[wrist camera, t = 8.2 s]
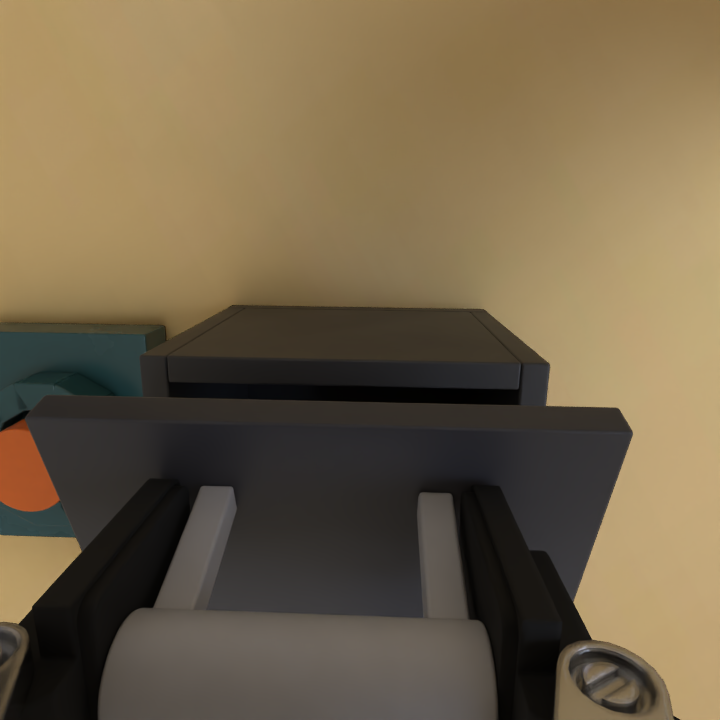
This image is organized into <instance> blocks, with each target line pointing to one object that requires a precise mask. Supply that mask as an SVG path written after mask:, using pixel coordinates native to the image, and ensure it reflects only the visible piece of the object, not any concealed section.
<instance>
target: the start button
mask: <svg viewBox="0 0 720 720" xmlns="http://www.w3.org/2000/svg"><path fill="white" fill-rule="evenodd" d="M0 501H1V502H2V503H4V504H6V505H7V506H9V507H12V508H14V509H17V510H21V511H28V512H36V511H42V510H45V509H48V508H50V507H52V506H54V505H55V504H57V503H58V502H59V501H60V500H59V497H58V495H57V493H56V490H55V488H54V486H53V483H52V481H51V479H50V477H49V474H48V472H47V470H46V467H45V465H44V463H43V461H42V458H41V456H40V454H39V451H38V449H37V447H36V444H35V442H34V440H33V438H32V435H31V433H30V431H29V428H28V426H27V424H26V422H25V419H23V420H21V421H19V422H17V423H15V424H14V425H12V426H10V427H8V428H6V429H4V430H3V431H1V432H0Z"/></svg>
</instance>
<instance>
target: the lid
mask: <svg viewBox="0 0 720 720" xmlns="http://www.w3.org/2000/svg"><path fill="white" fill-rule="evenodd" d="M25 422H26V424H27V426H28V428H29V431H30V433H31V435H32V438H33V440H34V442H35V444H36V447H37V449H38V451H39V454H40V456H41V458H42V461H43V463H44V465H45V467H46V470H47V472H48V474H49V477H50V479H51V481H52V483H53V486H54V488H55V490H56V493H57V495H58V497H59V500H60V502H61V504H62V506H63V509H64V511H65V513H66V516H67V518H68V520H69V522H70V525H71V527H72V529H73V532H74V534H75V536H76V539H77V541H78V543H79V545H80V548H81V550H82V551H83V550H84V549H85V548H86V547H87V546H88V545H89V544H90V543H91V541H92V540H93V539H94V538H95V537H96V536H97V535H98V534H99V533H100V532H101V531H102V529H103V528H104V527H105V526H106V525H107V524H108V523H109V522H110V521H111V520H112V518H113V517H114V516H115V515H116V514H117V513H118V512H119V511H120V510H121V509H122V508H123V506H124V505H125V504H126V503H127V502H128V501H129V500H130V499H131V498H132V497H133V495H134V494H135V493H136V492H137V491H138V490H139V489H140V488H141V487H142V486H143V485H144V483H145V482H146V481H147V480H148V479H150V478H157V479H178V480H179V482H180V485H181V486H186V487H187V488H188V492H189V502H190V516H189V518H188V521H187V523H186V526H185V528H184V531H183V533H182V536H181V538H180V541H179V543H178V546H177V549H176V551H175V554H174V556H173V559H172V561H171V564H170V566H169V569H168V571H167V574H166V576H165V579H164V581H163V584H162V586H161V589H160V592H159V594H158V597H157V599H156V602H155V604H154V607H153V608H140V609H137V610H134V611H133V612H132V613H130V614H129V615H128V616H127V618H126V619H125V620H124V621H123V623H122V624H121V626H120V628H119V630H118V631H117V633H116V635H115V637H114V640H113V642H112V644H111V647H110V650H109V652H108V655H107V658H106V662H105V665H104V669H103V673H102V677H101V683H100V689H99V696H98V720H499V714H498V691H497V680H496V671H495V664H494V657H493V652H492V647H491V643H490V639H489V635H488V633H487V630H486V628H485V625H484V624H483V623H482V622H481V621H479V620H470V615H469V608H468V601H467V594H466V587H465V579H464V572H463V565H462V558H461V551H460V544H459V526H460V508H461V495H462V492H471V487H472V485H485V486H500V488H501V490H502V492H503V494H504V496H505V498H506V501H507V503H508V505H509V507H510V509H511V511H512V514H513V516H514V518H515V520H516V522H517V525H518V527H519V529H520V531H521V533H522V535H523V538H524V540H525V542H526V544H527V546H528V548H529V550H543V551H546V552H547V554H548V555H549V556H550V558H551V560H552V562H553V564H554V566H555V568H556V570H557V572H558V574H559V576H560V578H561V580H562V582H563V584H564V586H565V588H566V590H567V592H568V594H569V596H570V598H571V599H572V601H574V598H575V596H576V593H577V590H578V587H579V584H580V582H581V579H582V576H583V573H584V570H585V568H586V565H587V562H588V559H589V556H590V554H591V551H592V548H593V545H594V542H595V539H596V537H597V534H598V531H599V528H600V525H601V523H602V520H603V517H604V514H605V511H606V509H607V506H608V503H609V500H610V497H611V494H612V492H613V489H614V486H615V483H616V480H617V478H618V475H619V472H620V469H621V466H622V464H623V461H624V458H625V455H626V452H627V450H628V447H629V444H630V441H631V438H632V435H633V432H632V430H631V428H630V426H629V425H628V423H627V421H626V420H625V418H624V416H623V415H622V413H621V411H620V410H619V409H618V408H606V407H562V406H518V405H474V404H430V403H386V402H341V401H297V400H253V399H209V398H165V397H121V396H76V395H45V396H44V397H43V398H42V399H41V400H40V401H39V402H38V403H37V404H36V406H35V407H34V408H33V409H32V410H31V411H30V412H29V413H28V414H27V415H26V417H25Z"/></svg>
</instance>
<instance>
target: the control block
mask: <svg viewBox="0 0 720 720" xmlns="http://www.w3.org/2000/svg"><path fill="white" fill-rule="evenodd" d="M164 342H166V336H165V326H164V325H114V324H58V323H2V322H0V432H1V431H3V430H4V429H6V428H8V427H10V426H12V425H14V424H15V423H17V422H19V421H21V420H23V419H25V417H26V415H27V414H28V413H29V412H30V411H31V410H32V409H33V408H34V407H35V406H36V404H37V403H38V402H39V401H40V400H41V399H42V398H43V397H44V396H45V395H76V396H121V397H143V392H142V381H141V371H140V360H139V357H140V355H142V354H144V353H146V352H147V351H149V350H151V349H153V348H155V347H157V346H158V345H160V344H162V343H164ZM0 535H13V536H44V537H75V538H76V536H75V534H74V532H73V529H72V527H71V525H70V522H69V520H68V518H67V516H66V513H65V511H64V509H63V506H62V504H61V502H60V501H59V502H58V503H57V504H55V505H54V506H52V507H50V508H48V509H45V510H42V511H36V512H28V511H21V510H17V509H14V508H12V507H9V506H7V505H6V504H4V503H2V502H1V501H0Z"/></svg>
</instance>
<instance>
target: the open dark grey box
mask: <svg viewBox="0 0 720 720" xmlns="http://www.w3.org/2000/svg"><path fill="white" fill-rule="evenodd" d="M139 360H140V371H141V381H142V392H143V397H165V398H209V399H253V400H297V401H341V402H386V403H430V404H474V405H518V406H546V400H547V390H548V380H549V370H550V364H549V363H548V362H547V361H545V360H544V359H543V358H542V357H541V356H539V355H538V354H537V353H536V352H535V351H533V350H532V349H531V348H530V347H529V346H527V345H526V344H525V343H524V342H522V341H521V340H520V339H519V338H518V337H516V336H515V335H514V334H513V333H512V332H510V331H509V330H508V329H507V328H506V327H504V326H503V325H502V324H501V323H500V322H498V321H497V320H496V319H495V318H494V317H492V316H491V315H490V314H489V313H488V312H487V311H486V310H484V309H433V308H372V307H311V306H250V305H232V306H230V307H228V308H227V309H225V310H223V311H221V312H219V313H218V314H216V315H214V316H212V317H210V318H208V319H206V320H205V321H203V322H201V323H199V324H197V325H195V326H194V327H192V328H190V329H188V330H186V331H184V332H182V333H181V334H179V335H177V336H175V337H173V338H171V339H170V340H168V341H166V342H164V343H162V344H160V345H158V346H157V347H155V348H153V349H151V350H149V351H147V352H146V353H144V354H142V355H140V357H139Z"/></svg>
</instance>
